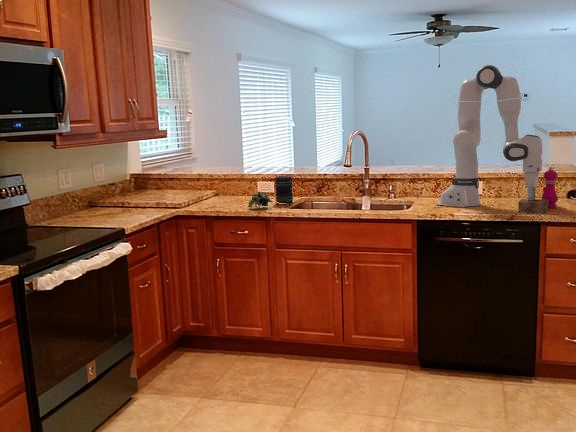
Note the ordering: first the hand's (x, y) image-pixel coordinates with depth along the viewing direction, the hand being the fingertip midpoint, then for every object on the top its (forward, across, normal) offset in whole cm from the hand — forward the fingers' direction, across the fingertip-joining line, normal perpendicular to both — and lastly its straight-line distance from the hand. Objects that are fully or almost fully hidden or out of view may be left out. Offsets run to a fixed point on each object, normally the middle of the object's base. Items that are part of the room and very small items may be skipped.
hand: (531, 195), depth 301 cm
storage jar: (+4, +23, -130) cm, 132 cm away
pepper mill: (+6, +4, +9) cm, 11 cm away
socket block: (+6, +16, +3) cm, 17 cm away
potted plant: (+5, +44, -133) cm, 140 cm away
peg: (+6, 0, 0) cm, 6 cm away
